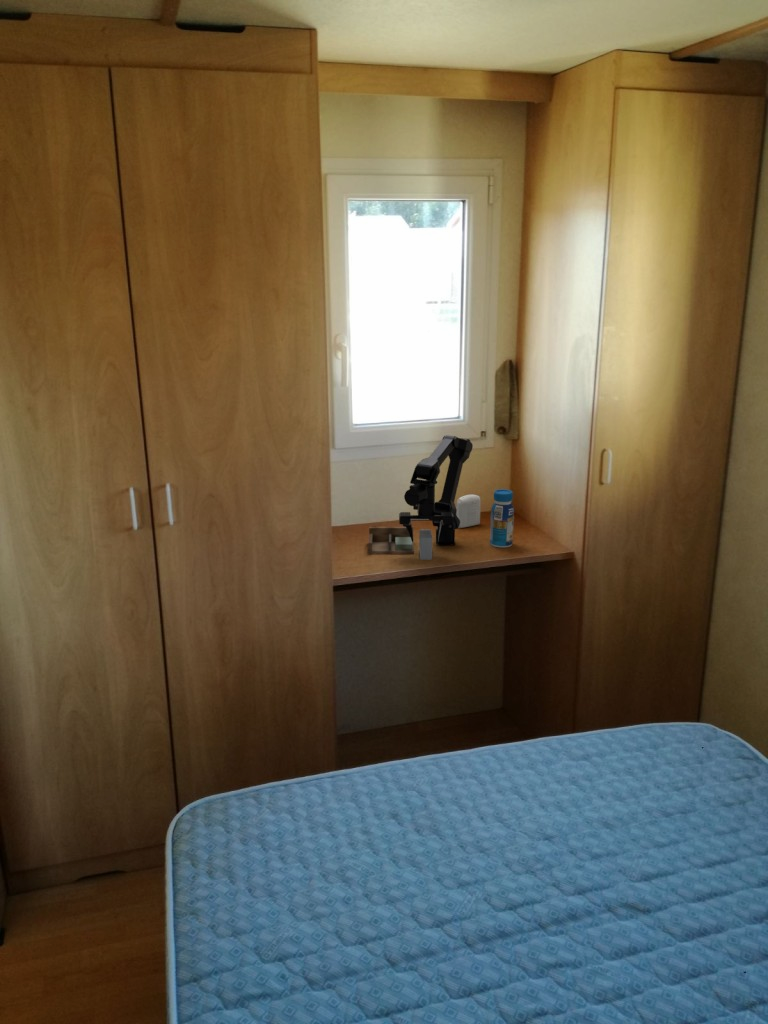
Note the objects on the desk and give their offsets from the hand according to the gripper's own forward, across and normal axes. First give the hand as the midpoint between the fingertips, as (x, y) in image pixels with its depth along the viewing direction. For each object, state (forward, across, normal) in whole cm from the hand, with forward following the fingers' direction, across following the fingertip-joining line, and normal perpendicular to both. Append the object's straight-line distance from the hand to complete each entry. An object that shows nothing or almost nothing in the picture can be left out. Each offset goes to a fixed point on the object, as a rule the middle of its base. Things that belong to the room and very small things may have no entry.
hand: (425, 541), depth 274 cm
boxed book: (+5, 0, 0) cm, 5 cm away
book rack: (+5, +12, -7) cm, 15 cm away
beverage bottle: (+5, -28, -11) cm, 30 cm away
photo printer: (+5, -18, -33) cm, 38 cm away
